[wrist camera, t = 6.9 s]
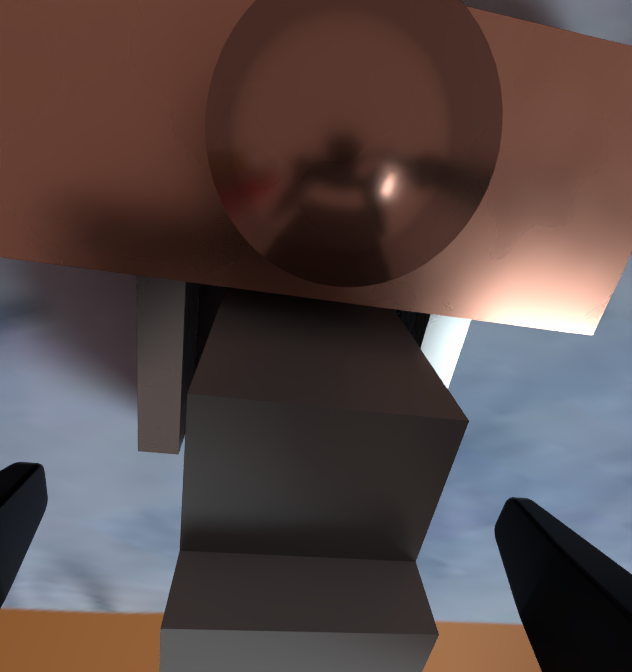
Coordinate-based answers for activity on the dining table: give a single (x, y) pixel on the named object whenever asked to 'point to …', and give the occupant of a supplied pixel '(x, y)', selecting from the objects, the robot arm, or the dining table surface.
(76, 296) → the dining table surface
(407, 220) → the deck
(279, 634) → the grey stepped block
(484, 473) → the dining table surface
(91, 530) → the dining table surface
